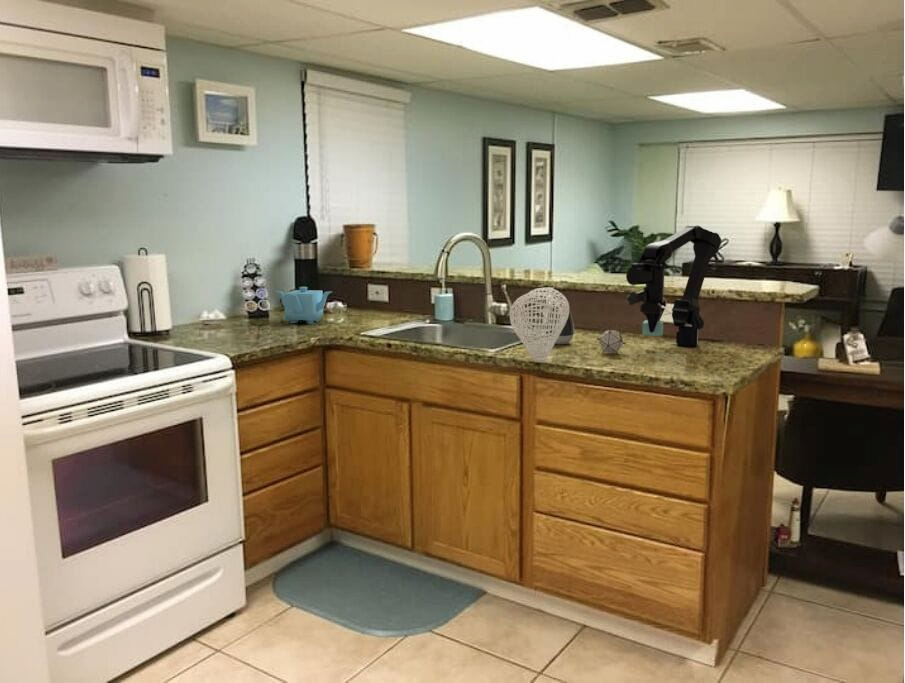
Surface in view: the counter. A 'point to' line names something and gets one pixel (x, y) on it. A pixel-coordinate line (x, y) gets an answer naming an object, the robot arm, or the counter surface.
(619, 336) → the game die
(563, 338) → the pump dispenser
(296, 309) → the teakettle
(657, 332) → the teal block
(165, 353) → the counter surface
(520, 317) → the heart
